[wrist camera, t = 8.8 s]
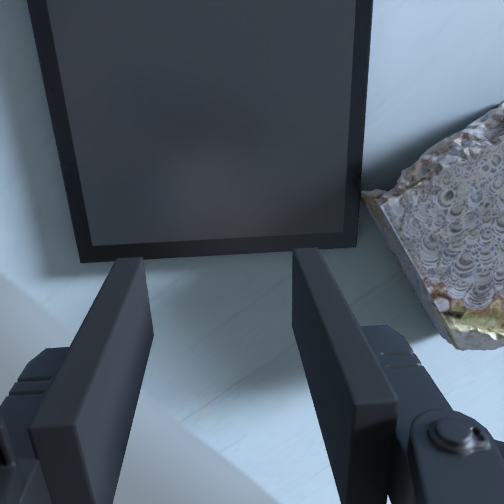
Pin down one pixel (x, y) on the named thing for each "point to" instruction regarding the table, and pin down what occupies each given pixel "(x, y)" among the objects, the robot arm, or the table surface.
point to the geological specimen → (453, 231)
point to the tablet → (207, 122)
